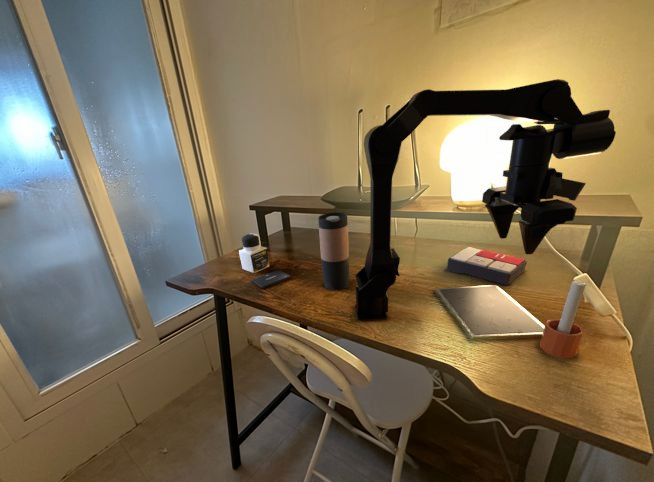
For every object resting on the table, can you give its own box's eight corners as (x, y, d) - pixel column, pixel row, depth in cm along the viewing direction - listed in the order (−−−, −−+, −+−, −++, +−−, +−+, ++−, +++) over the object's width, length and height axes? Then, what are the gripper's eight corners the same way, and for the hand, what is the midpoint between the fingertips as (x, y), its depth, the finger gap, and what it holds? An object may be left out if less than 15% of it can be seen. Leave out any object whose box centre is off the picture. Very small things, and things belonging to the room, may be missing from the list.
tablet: (471, 341, 58) (471, 336, 58) (434, 292, 76) (435, 288, 76) (552, 338, 56) (554, 333, 56) (495, 288, 74) (496, 284, 73)
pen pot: (551, 360, 51) (559, 336, 49) (532, 342, 56) (539, 319, 54) (583, 359, 51) (592, 335, 49) (562, 341, 55) (569, 318, 53)
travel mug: (333, 276, 92) (329, 211, 83) (355, 282, 87) (353, 213, 78) (317, 286, 87) (311, 218, 79) (339, 293, 82) (336, 221, 74)
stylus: (555, 351, 52) (577, 285, 47) (549, 346, 54) (569, 281, 48) (566, 351, 52) (588, 284, 47) (559, 345, 54) (580, 280, 48)
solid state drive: (252, 281, 96) (252, 279, 96) (278, 271, 100) (278, 269, 100) (262, 288, 91) (262, 286, 90) (290, 277, 95) (290, 275, 94)
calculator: (511, 272, 72) (448, 256, 84) (506, 288, 74) (445, 270, 86) (528, 258, 78) (467, 244, 89) (524, 272, 80) (464, 257, 91)
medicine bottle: (254, 273, 102) (247, 240, 97) (242, 269, 107) (235, 237, 102) (270, 266, 106) (264, 233, 101) (257, 262, 111) (252, 231, 106)
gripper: (630, 160, 44) (600, 259, 51) (546, 152, 61) (532, 227, 67) (543, 173, 46) (525, 265, 53) (485, 161, 63) (477, 233, 69)
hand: (515, 245), depth 60 cm, fingers open, 9 cm apart
